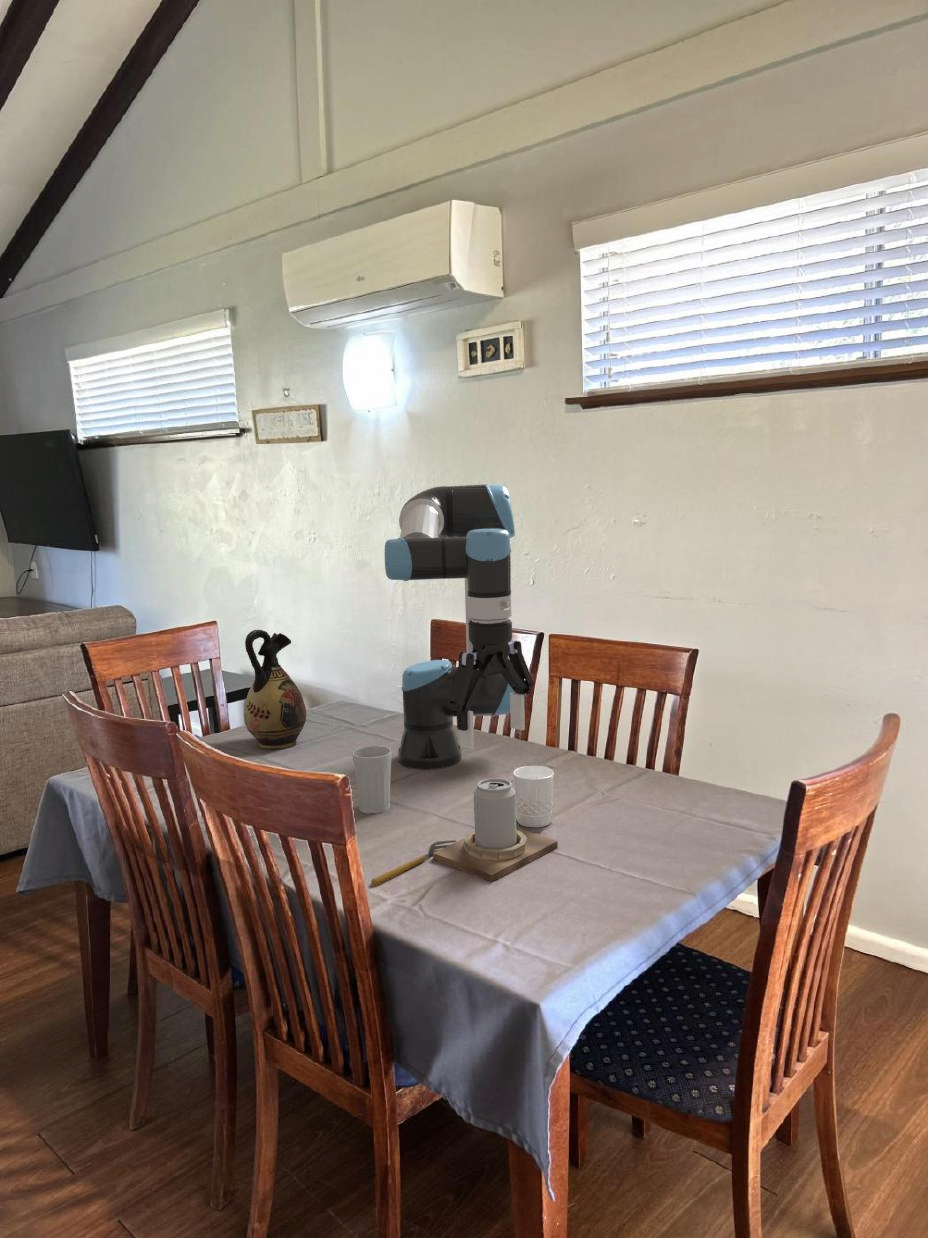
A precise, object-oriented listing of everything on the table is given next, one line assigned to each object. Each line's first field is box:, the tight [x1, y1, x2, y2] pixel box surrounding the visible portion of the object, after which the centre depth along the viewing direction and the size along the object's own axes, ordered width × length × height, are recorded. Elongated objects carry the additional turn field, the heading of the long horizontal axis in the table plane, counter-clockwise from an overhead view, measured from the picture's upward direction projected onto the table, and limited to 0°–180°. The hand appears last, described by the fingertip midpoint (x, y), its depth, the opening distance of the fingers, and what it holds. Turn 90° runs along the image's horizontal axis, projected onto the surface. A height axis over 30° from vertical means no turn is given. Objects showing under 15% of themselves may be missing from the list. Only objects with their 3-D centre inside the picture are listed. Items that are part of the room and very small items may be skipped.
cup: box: [352, 745, 392, 814], centre depth 189 cm, size 8×8×12 cm
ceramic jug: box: [243, 629, 307, 749], centre depth 233 cm, size 17×15×30 cm
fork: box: [370, 840, 457, 887], centre depth 162 cm, size 2×2×20 cm
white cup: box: [512, 765, 555, 828], centre depth 180 cm, size 8×8×10 cm
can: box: [473, 777, 517, 850], centre depth 165 cm, size 8×8×12 cm
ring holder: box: [432, 827, 559, 882], centre depth 166 cm, size 18×14×3 cm
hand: (493, 738), depth 163 cm, fingers open, 13 cm apart
